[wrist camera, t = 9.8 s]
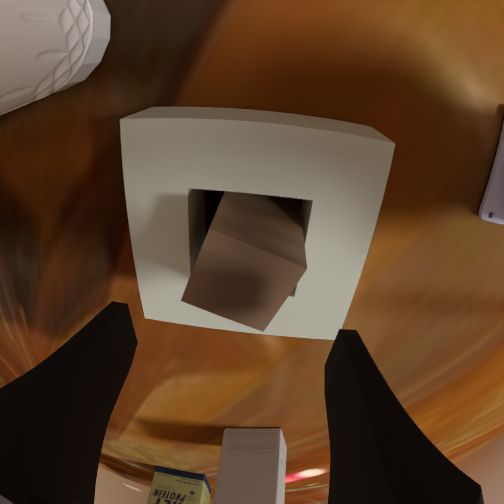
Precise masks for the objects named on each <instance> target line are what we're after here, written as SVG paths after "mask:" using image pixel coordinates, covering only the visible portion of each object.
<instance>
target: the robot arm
mask: <svg viewBox="0 0 504 504" xmlns="http://www.w3.org/2000/svg"><path fill="white" fill-rule="evenodd" d="M490 212H491V214H490V215H489V213H490ZM479 216H480V217H481V218H482V219H483V220H486V221H490V222H494V223H498V224H503V225H504V122H503V127H502V132H501V137H500V141H499V145H498V149H497V153H496V157H495V161H494V164H493V168H492V172H491V175H490V178H489V182H488V185H487V188H486V191H485V194H484V197H483V200H482V203H481V206H480V209H479ZM137 343H138V342H137V338H136V335H135V331H134V327H133V324H132V320H131V316H130V312H129V308H128V304H125V303H119V302H114V301H112V302H111V303H110V304H109V305H108V306H106V307H105V308H104V309H103V310H102V311H101V312H100V313H99V314H97V315H96V316H95V317H94V318H93V319H92V320H91V321H90V322H89V323H88V324H86V325H85V326H84V327H83V328H82V329H81V330H80V331H79V332H77V333H76V334H75V335H74V336H73V337H72V338H71V339H70V340H68V341H67V342H66V343H65V344H64V345H62V346H61V347H60V348H59V349H58V350H56V351H55V352H54V353H53V354H52V355H50V356H49V357H48V358H47V359H45V360H44V361H43V362H41V363H40V364H38V365H37V366H36V367H34V368H33V369H31V370H30V371H28V372H27V373H25V374H24V375H22V376H21V377H19V378H17V379H15V380H14V381H12V382H10V383H9V384H7V385H5V386H4V387H2V388H0V504H94V496H95V485H96V477H97V470H98V464H99V459H100V454H101V449H102V445H103V440H104V436H105V432H106V429H107V425H108V422H109V419H110V416H111V413H112V411H113V408H114V406H115V404H116V401H117V399H118V396H119V394H120V391H121V389H122V387H123V384H124V382H125V379H126V377H127V375H128V372H129V370H130V367H131V364H132V361H133V357H134V354H135V350H136V347H137ZM324 381H325V401H326V410H327V420H328V429H329V439H330V455H331V460H330V483H329V497H328V504H484V501H483V495H482V490H481V486H480V485H479V484H478V483H476V482H475V481H474V480H472V479H471V478H470V477H468V476H467V475H466V474H464V473H463V472H462V471H460V470H459V469H458V468H457V467H456V466H455V465H454V464H453V463H452V462H450V461H449V460H448V459H447V458H446V457H445V456H444V455H443V454H442V453H441V452H440V451H439V450H438V449H437V448H436V447H435V446H434V445H433V444H432V443H431V441H430V440H429V439H428V438H427V437H426V436H425V435H424V434H423V432H422V431H421V430H420V429H419V428H418V426H417V425H416V424H415V423H414V421H413V420H412V419H411V418H410V416H409V415H408V414H407V412H406V411H405V409H404V408H403V407H402V405H401V404H400V402H399V401H398V399H397V398H396V396H395V395H394V393H393V392H392V390H391V389H390V387H389V386H388V384H387V382H386V381H385V379H384V377H383V376H382V374H381V372H380V371H379V369H378V367H377V366H376V364H375V362H374V360H373V359H372V357H371V355H370V353H369V352H368V350H367V348H366V346H365V344H364V343H363V341H362V339H361V337H360V335H359V334H358V332H357V331H356V330H345V329H339V330H338V333H337V336H336V338H335V341H334V344H333V346H332V349H331V351H330V354H329V356H328V359H327V361H326V363H325V380H324Z"/></svg>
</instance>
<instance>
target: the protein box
mask: <svg viewBox="0 0 504 504" xmlns="http://www.w3.org/2000/svg"><path fill="white" fill-rule="evenodd" d="M210 492H211V489H210V487H209V484H208V481H207V479H206V476H205V475H202V474H195V473H189V472H184V471H179V470H174V469H169V468H165V467H160V466H156V469H155V473H154V477H153V481H152V485H151V490H150V493H149V498H148V502H147V504H209V499H210Z"/></svg>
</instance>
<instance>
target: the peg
mask: <svg viewBox="0 0 504 504" xmlns="http://www.w3.org/2000/svg"><path fill="white" fill-rule="evenodd" d="M306 270H307V262H306V253H305V244H304V236H303V228H302V220H301V212H300V205H299V199H297V198H289V197H280V196H271V195H261V194H251V193H241V192H230V191H225V192H224V194H223V196H222V199H221V201H220V203H219V206H218V208H217V210H216V213H215V215H214V217H213V220H212V222H211V225H210V227H209V229H208V232H207V234H206V237H205V239H204V242H203V244H202V247H201V249H200V252H199V254H198V257H197V259H196V262H195V265H194V267H193V270H192V272H191V275H190V277H189V280H188V283H187V285H186V288H185V291H184V293H183V296H182V299H181V301H182V302H185V303H187V304H190V305H192V306H195V307H197V308H200V309H203V310H205V311H208V312H210V313H213V314H216V315H218V316H221V317H224V318H226V319H229V320H232V321H235V322H237V323H240V324H243V325H246V326H248V327H251V328H254V329H257V330H260V331H263V332H264V330H265V329H266V327H267V326H268V325H269V323H270V322H271V320H272V319H273V318H274V316H275V315H276V313H277V312H278V311H279V309H280V308H281V306H282V305H283V303H284V302H285V301H286V299H287V298H288V296H289V295H290V293H291V292H292V290H293V289H294V288H295V286H296V285H297V283H298V282H299V280H300V279H301V277H302V276H303V274H304V273H305V271H306Z"/></svg>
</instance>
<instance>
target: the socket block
mask: <svg viewBox="0 0 504 504" xmlns="http://www.w3.org/2000/svg"><path fill="white" fill-rule="evenodd" d="M120 132H121V150H122V164H123V176H124V187H125V197H126V206H127V214H128V222H129V230H130V237H131V244H132V250H133V257H134V263H135V269H136V274H137V280H138V285H139V291H140V296H141V301H142V306H143V311H144V315H145V318H148V319H154V320H160V321H166V322H172V323H179V324H186V325H192V326H199V327H207V328H214V329H222V330H230V331H239V332H248V333H257V334H267V335H277V336H289V337H301V338H315V339H330V340H335V338H336V336H337V333H338V330H339V329H341V328H342V326H343V323H344V320H345V318H346V315H347V312H348V309H349V307H350V304H351V301H352V298H353V295H354V292H355V290H356V287H357V284H358V281H359V278H360V275H361V272H362V269H363V265H364V262H365V259H366V256H367V253H368V249H369V246H370V243H371V240H372V236H373V233H374V229H375V226H376V222H377V219H378V215H379V211H380V208H381V204H382V200H383V196H384V192H385V188H386V184H387V180H388V176H389V171H390V167H391V163H392V158H393V154H394V149H395V143H394V142H393V141H391V140H390V139H388V138H387V137H386V136H384V135H383V134H381V133H380V132H378V131H377V130H375V129H374V128H373V127H371V126H366V125H361V124H356V123H351V122H345V121H340V120H334V119H327V118H321V117H314V116H307V115H299V114H291V113H283V112H273V111H263V110H251V109H237V108H218V107H151V108H148V109H145V110H143V111H140V112H137V113H135V114H132V115H130V116H127V117H125V118H122V119H120ZM206 190H218V191H230V192H241V193H251V194H261V195H271V196H280V197H289V198H297V199H302V202H301V209H300V212H301V220H302V228H303V236H304V244H305V253H306V262H307V270H306V271H305V273H304V274H303V276H302V277H301V279H300V280H299V282H298V283H297V285H296V286H295V288H294V289H293V290H292V292H291V293H290V295H289V296H288V298H287V299H286V301H285V302H284V303H283V305H282V306H281V308H280V309H279V311H278V312H277V313H276V315H275V316H274V318H273V319H272V320H271V322H270V323H269V325H268V326H267V327H266V329H265V330H264V332H263V331H260V330H257V329H254V328H251V327H248V326H246V325H243V324H240V323H237V322H235V321H232V320H229V319H226V318H224V317H221V316H218V315H216V314H213V313H210V312H208V311H205V310H203V309H200V308H197V307H195V306H192V305H190V304H187V303H185V302H182V301H181V299H182V296H183V293H184V291H185V288H186V285H187V283H188V280H189V277H190V275H191V272H192V270H193V267H194V265H195V262H196V259H197V257H198V254H199V252H200V249H201V247H202V244H203V242H204V239H205V237H206Z"/></svg>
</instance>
